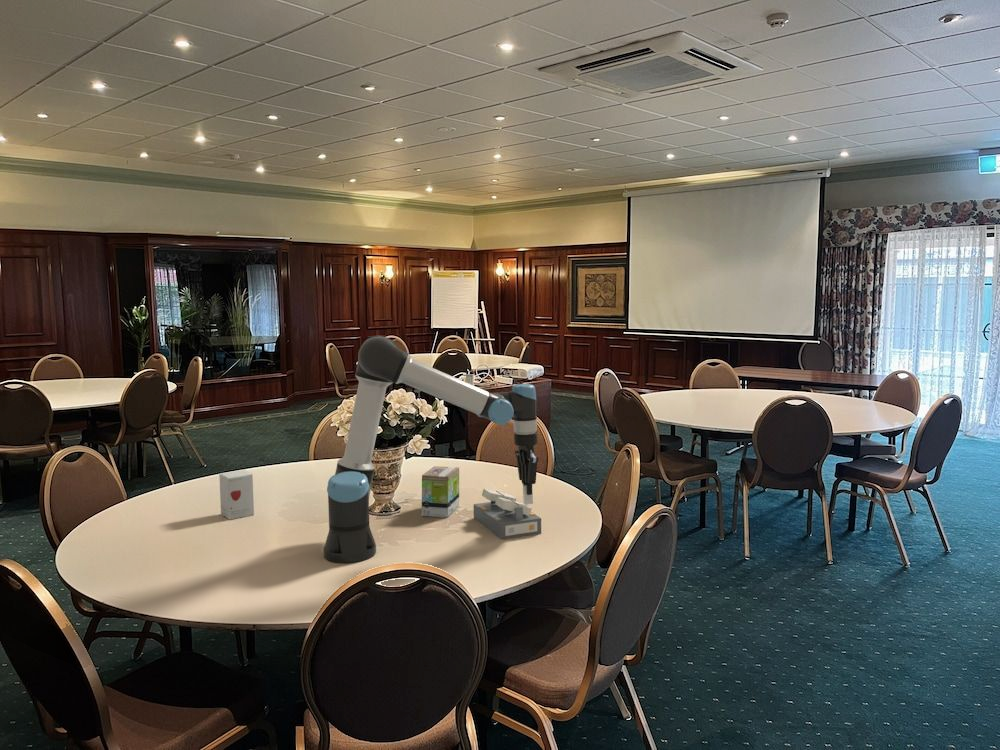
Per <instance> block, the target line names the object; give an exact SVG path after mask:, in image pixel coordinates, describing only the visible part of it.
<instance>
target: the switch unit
mask: <svg viewBox="0 0 1000 750" xmlns="http://www.w3.org/2000/svg"><path fill="white" fill-rule="evenodd" d="M504 499H508V498H504ZM495 503H496V501H491V500H490V501H489V502H488V501H487V502H480V503H479V502H478V503H473V519H474V520H475V521H477V522H478V523H479V524H481V525H482V526H483V527H484V528H485V529H487V530H488V531H490V532H491V533H492V534H493V535H494V536H496V537H497V538H499V540H507V539H508V540H509V539H515V538H520V537H527V536H533V535H534V536H535V535H540V534H542V518H541V517H540V516H538V515H537V514H536V513H534V512H533V511H531V513H530V516H529V515H525V514H523V507H519V508H515V512H513V511H509V510H505V509H502V508H501V507H499V506H498V505H496V504H495Z"/></svg>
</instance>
